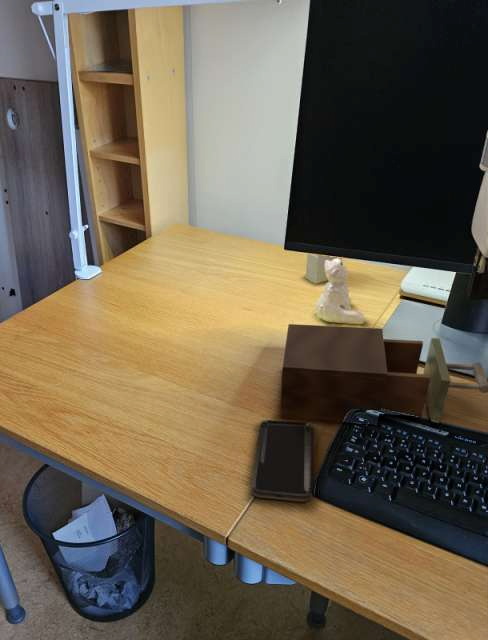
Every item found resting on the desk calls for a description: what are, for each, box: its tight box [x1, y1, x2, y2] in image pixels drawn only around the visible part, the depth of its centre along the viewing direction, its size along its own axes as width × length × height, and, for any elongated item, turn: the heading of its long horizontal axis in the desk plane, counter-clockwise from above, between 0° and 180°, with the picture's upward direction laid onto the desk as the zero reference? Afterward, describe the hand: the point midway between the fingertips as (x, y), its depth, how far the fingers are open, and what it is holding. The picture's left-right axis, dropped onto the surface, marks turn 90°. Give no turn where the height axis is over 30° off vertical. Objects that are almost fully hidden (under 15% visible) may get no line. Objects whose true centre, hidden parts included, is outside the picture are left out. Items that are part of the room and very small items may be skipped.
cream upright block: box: [305, 253, 343, 285], centre depth 122 cm, size 4×7×10 cm, turn 118°
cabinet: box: [279, 323, 388, 424], centre depth 87 cm, size 15×13×10 cm
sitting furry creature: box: [314, 258, 365, 325], centre depth 107 cm, size 10×9×12 cm
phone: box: [251, 419, 314, 503], centre depth 79 cm, size 8×1×15 cm
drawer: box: [381, 337, 488, 422], centre depth 85 cm, size 20×11×8 cm, turn 78°
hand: (480, 296), depth 76 cm, fingers closed
